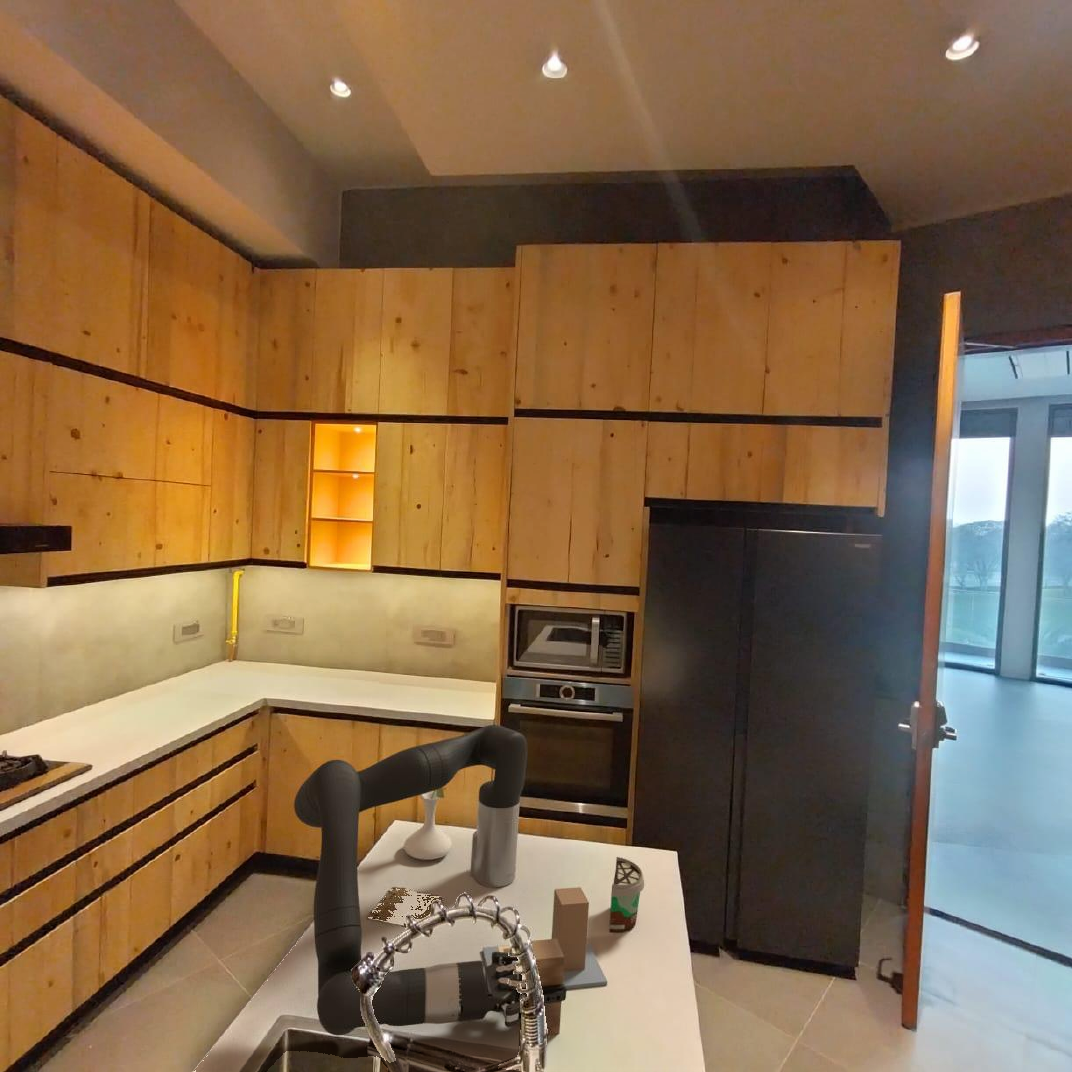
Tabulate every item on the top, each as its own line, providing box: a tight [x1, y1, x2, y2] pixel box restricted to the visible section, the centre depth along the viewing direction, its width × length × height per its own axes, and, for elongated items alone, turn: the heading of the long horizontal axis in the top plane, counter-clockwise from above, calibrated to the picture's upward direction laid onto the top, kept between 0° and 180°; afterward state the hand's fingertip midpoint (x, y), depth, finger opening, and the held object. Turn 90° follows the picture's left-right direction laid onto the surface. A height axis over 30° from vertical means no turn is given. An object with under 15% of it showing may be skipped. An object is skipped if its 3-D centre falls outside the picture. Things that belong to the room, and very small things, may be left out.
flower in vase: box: [403, 787, 453, 860], centre depth 155 cm, size 13×11×25 cm
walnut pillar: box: [530, 938, 564, 1036], centre depth 104 cm, size 5×5×12 cm
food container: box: [608, 856, 645, 934], centre depth 133 cm, size 12×6×10 cm, turn 168°
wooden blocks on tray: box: [482, 886, 608, 990], centre depth 117 cm, size 20×12×13 cm, turn 103°
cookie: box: [366, 886, 445, 928], centre depth 133 cm, size 12×12×1 cm
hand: (560, 980), depth 104 cm, fingers closed on walnut pillar, 4 cm apart
